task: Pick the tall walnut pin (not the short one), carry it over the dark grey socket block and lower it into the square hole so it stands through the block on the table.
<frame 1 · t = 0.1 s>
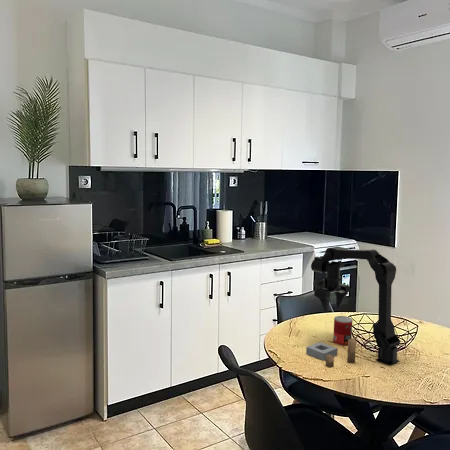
hand: (331, 309, 210), 15 cm above the table, fingers open, 9 cm apart
canned food: (342, 342, 211), on the table
short pin: (329, 365, 185), on the table
long pin: (351, 361, 190), on the table
socket block: (321, 354, 196), on the table
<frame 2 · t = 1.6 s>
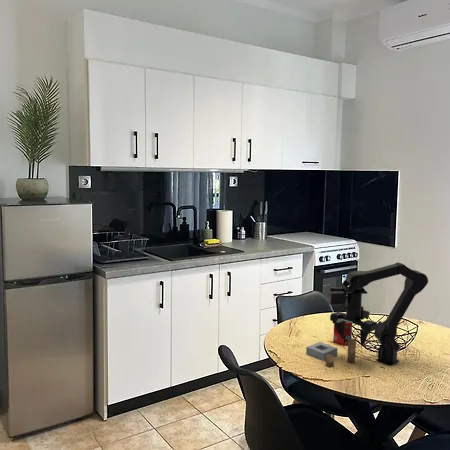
hand: (352, 342, 189), 8 cm above the table, fingers open, 9 cm apart
nothing on the table moved.
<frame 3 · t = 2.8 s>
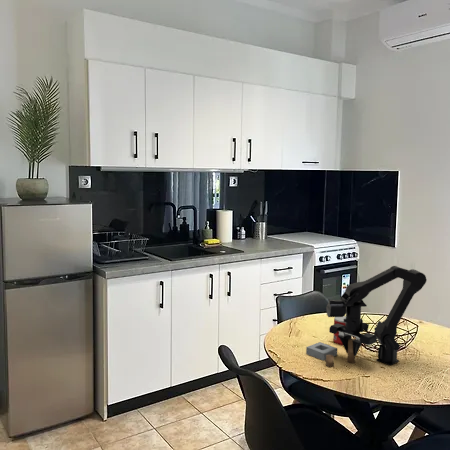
hand: (351, 354, 189), 3 cm above the table, fingers closed on long pin, 3 cm apart
long pin: (351, 361, 190), on the table, touching gripper
everything else where it was.
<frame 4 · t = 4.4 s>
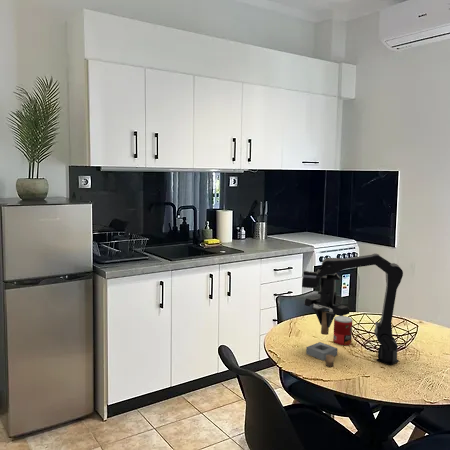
hand: (325, 326, 194), 12 cm above the table, fingers closed on long pin, 3 cm apart
long pin: (324, 333, 194), point 9 cm above the table, touching gripper
everything else where it was.
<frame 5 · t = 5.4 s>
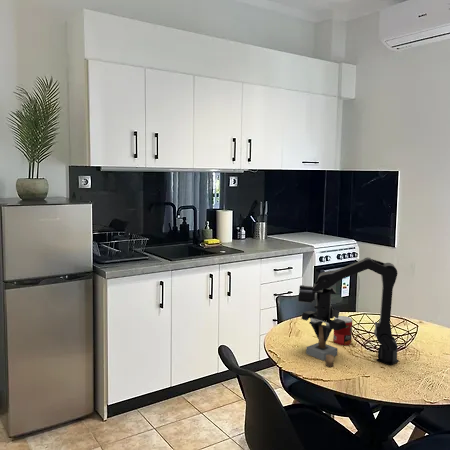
hand: (322, 340, 196), 6 cm above the table, fingers closed on long pin, 3 cm apart
long pin: (321, 347, 196), point 3 cm above the table, touching gripper
everything else where it was.
when the fingers open (4 cm above the table, at t = 6.0 s): long pin drops 1 cm, resting in socket block.
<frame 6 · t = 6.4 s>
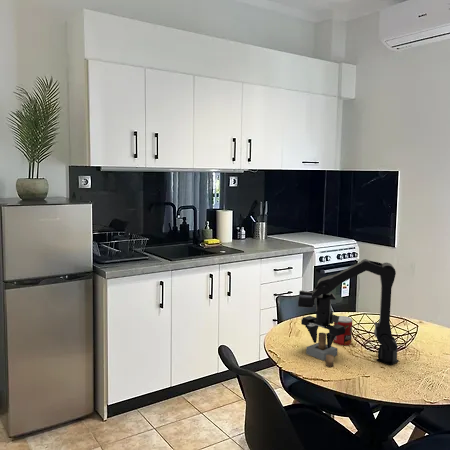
hand: (322, 345, 196), 4 cm above the table, fingers open, 7 cm apart
long pin: (321, 354, 196), resting in socket block
everything else where it was.
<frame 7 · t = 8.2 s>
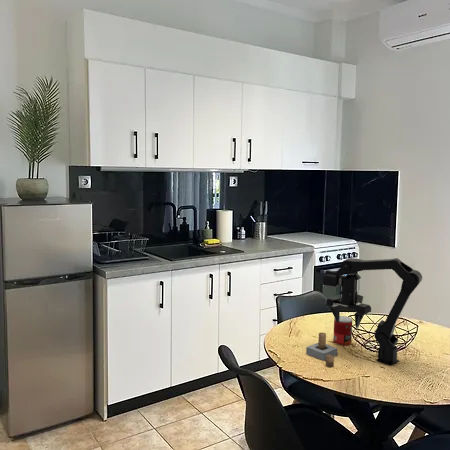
hand: (347, 325, 198), 12 cm above the table, fingers open, 9 cm apart
nothing on the table moved.
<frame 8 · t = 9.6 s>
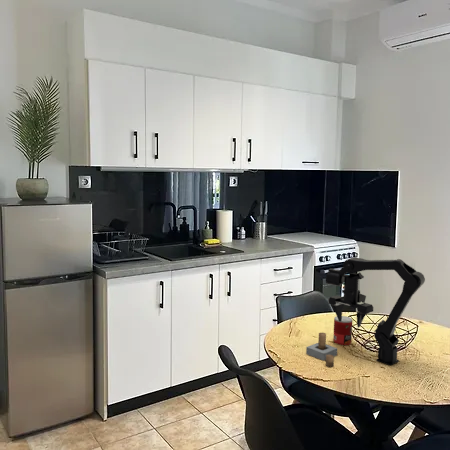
hand: (349, 324, 199), 12 cm above the table, fingers open, 9 cm apart
nothing on the table moved.
at the end: long pin 0.1 cm off-centre on the socket block, point 0.0 cm above the socket block's base; long pin tilted 0°; short pin moved 0.0 cm from its start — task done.
